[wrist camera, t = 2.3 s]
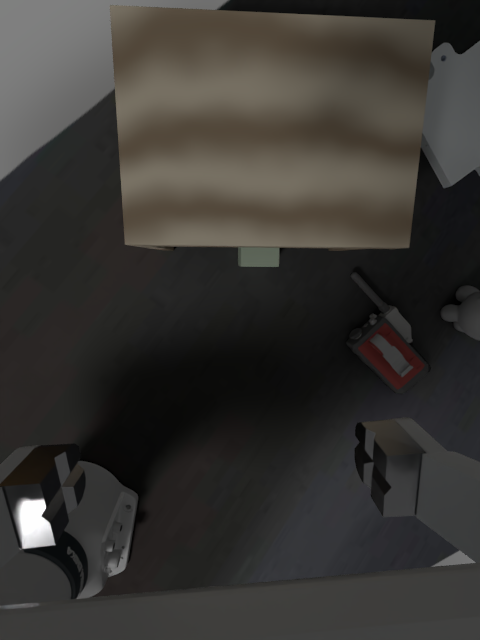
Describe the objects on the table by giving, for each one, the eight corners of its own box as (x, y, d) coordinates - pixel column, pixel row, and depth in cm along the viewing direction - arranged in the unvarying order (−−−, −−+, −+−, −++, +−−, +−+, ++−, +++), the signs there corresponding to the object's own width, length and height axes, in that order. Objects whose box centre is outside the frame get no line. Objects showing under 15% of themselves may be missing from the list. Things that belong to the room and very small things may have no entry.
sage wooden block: (269, 265, 44) (278, 266, 36) (238, 265, 43) (241, 266, 36) (270, 236, 43) (279, 231, 35) (238, 236, 43) (241, 231, 35)
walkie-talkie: (434, 356, 48) (353, 267, 45) (455, 366, 44) (367, 268, 40) (393, 394, 49) (310, 309, 46) (409, 407, 45) (319, 314, 41)
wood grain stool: (343, 252, 44) (408, 247, 28) (162, 250, 42) (125, 244, 27) (353, 113, 40) (435, 20, 24) (156, 107, 39) (109, 5, 23)
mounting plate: (386, 89, 40) (394, 81, 38) (470, 23, 39) (482, 11, 37) (450, 204, 44) (460, 201, 42) (528, 146, 42) (543, 141, 41)
